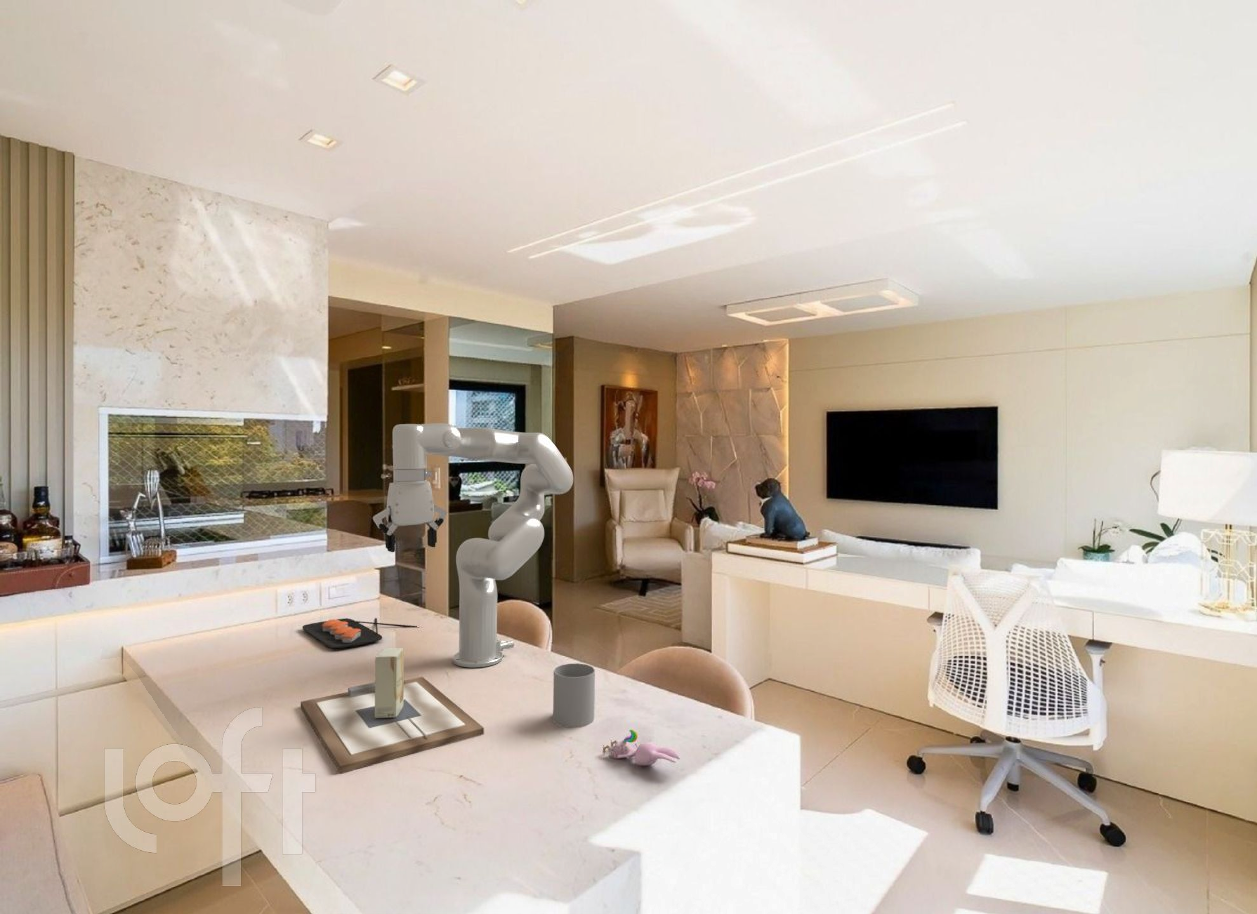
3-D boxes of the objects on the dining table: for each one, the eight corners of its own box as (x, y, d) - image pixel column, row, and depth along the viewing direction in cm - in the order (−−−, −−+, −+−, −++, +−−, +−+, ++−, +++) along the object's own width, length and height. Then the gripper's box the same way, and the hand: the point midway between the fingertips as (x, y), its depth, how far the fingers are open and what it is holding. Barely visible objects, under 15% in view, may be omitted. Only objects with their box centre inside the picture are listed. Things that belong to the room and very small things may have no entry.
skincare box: (396, 718, 128) (397, 657, 128) (373, 719, 128) (374, 657, 127) (404, 705, 134) (404, 647, 134) (382, 706, 134) (383, 647, 134)
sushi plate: (299, 631, 193) (299, 619, 193) (397, 615, 214) (397, 603, 214) (332, 655, 172) (332, 641, 172) (437, 634, 192) (437, 621, 192)
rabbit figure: (598, 766, 116) (669, 778, 107) (594, 732, 116) (665, 741, 108) (618, 753, 121) (688, 763, 112) (614, 721, 121) (683, 728, 113)
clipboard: (422, 681, 152) (422, 669, 152) (483, 734, 125) (483, 719, 125) (300, 707, 136) (300, 694, 136) (340, 773, 109) (340, 757, 109)
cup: (600, 714, 135) (600, 666, 135) (585, 730, 127) (585, 679, 127) (563, 708, 138) (564, 661, 138) (546, 723, 130) (546, 674, 130)
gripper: (439, 474, 160) (440, 542, 161) (367, 477, 149) (369, 551, 150) (451, 475, 155) (453, 546, 155) (378, 479, 144) (379, 555, 144)
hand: (411, 548), depth 153 cm, fingers open, 9 cm apart
